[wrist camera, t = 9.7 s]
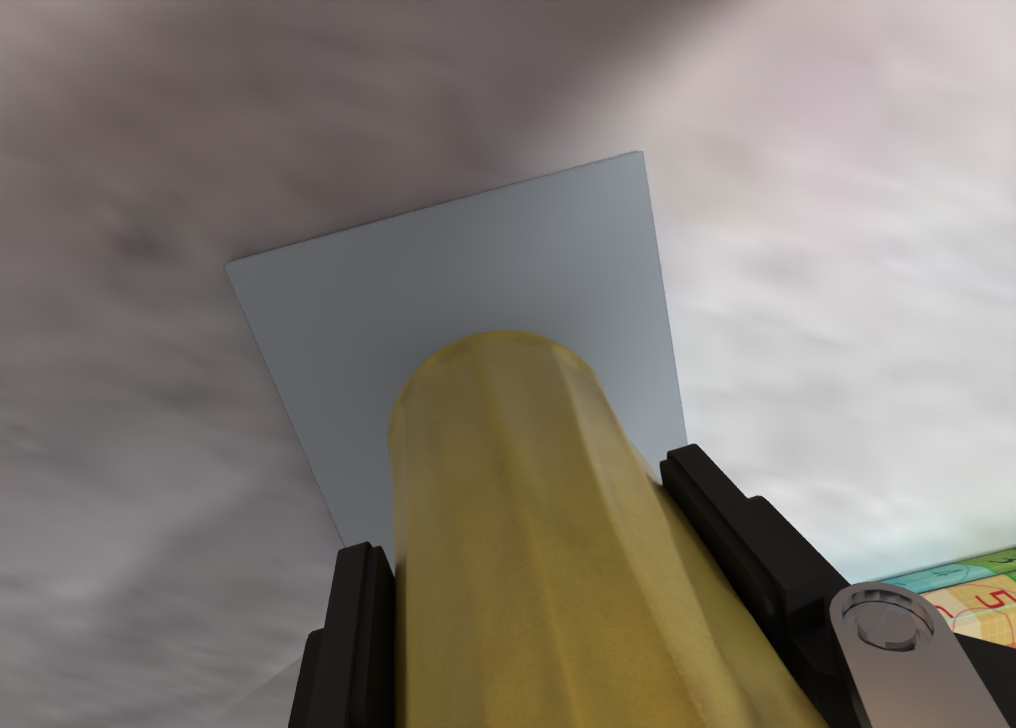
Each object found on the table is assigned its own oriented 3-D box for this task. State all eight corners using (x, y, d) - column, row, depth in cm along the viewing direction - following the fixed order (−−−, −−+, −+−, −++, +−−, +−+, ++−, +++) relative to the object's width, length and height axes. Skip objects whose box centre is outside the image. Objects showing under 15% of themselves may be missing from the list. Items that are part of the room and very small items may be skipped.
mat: (229, 261, 17) (223, 265, 16) (635, 150, 18) (643, 150, 17) (368, 586, 21) (367, 598, 21) (689, 490, 22) (696, 499, 21)
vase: (589, 528, 18) (1060, 1545, 5) (382, 526, 17) (287, 1822, 4) (624, 335, 16) (1560, 1177, 3) (393, 319, 15) (279, 1534, 2)
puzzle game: (790, 686, 20) (1318, 552, 22) (722, 588, 24) (1166, 482, 26) (786, 898, 24) (1228, 773, 26) (729, 782, 29) (1110, 682, 30)
